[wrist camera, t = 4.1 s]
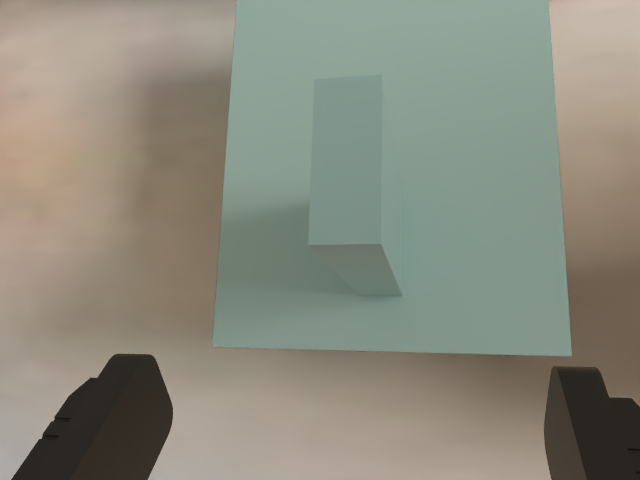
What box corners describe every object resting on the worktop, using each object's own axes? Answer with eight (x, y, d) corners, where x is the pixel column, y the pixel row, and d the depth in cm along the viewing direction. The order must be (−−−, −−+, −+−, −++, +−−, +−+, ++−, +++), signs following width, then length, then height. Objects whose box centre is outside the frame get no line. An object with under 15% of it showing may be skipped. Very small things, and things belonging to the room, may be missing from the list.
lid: (251, -10, 27) (139, -244, 17) (535, -40, 25) (610, -337, 14) (228, 348, 23) (65, 331, 13) (560, 357, 21) (685, 344, 11)
